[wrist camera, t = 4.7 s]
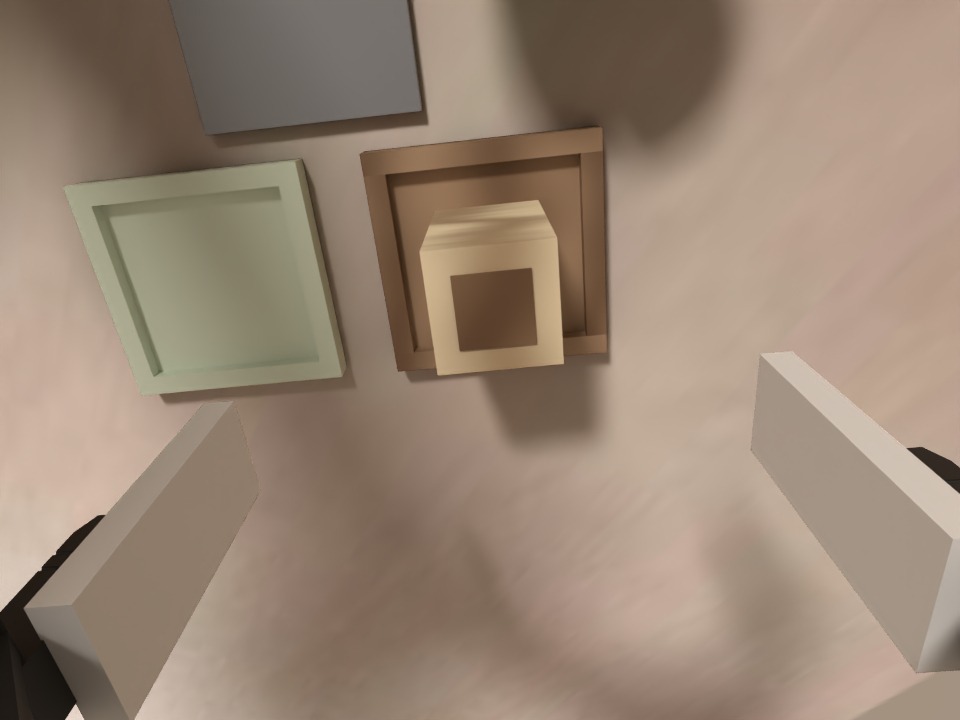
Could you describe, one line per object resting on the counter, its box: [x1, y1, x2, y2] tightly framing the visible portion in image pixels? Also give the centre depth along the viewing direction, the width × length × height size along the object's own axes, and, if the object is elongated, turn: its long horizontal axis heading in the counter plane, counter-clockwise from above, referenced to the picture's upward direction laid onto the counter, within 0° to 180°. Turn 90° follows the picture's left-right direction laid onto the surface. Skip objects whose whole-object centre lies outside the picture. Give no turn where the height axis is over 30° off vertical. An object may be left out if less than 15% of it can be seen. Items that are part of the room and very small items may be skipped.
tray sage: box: [63, 158, 347, 396], centre depth 31 cm, size 11×11×1 cm
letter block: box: [419, 200, 564, 375], centre depth 26 cm, size 5×5×8 cm
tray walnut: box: [360, 126, 607, 372], centre depth 30 cm, size 11×11×1 cm
